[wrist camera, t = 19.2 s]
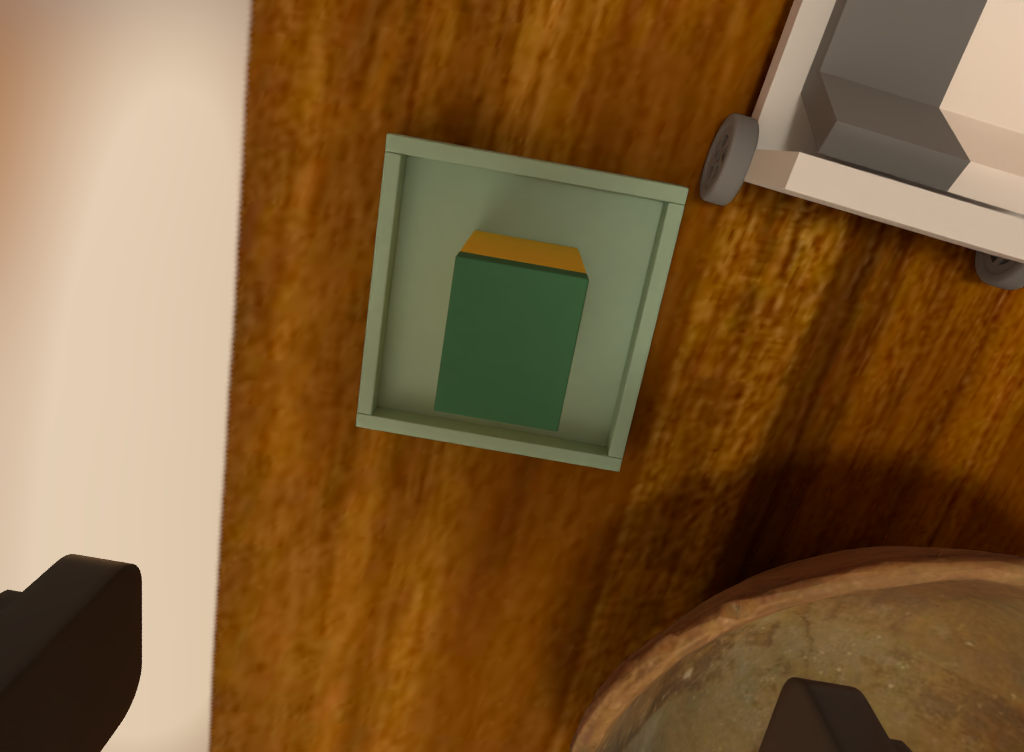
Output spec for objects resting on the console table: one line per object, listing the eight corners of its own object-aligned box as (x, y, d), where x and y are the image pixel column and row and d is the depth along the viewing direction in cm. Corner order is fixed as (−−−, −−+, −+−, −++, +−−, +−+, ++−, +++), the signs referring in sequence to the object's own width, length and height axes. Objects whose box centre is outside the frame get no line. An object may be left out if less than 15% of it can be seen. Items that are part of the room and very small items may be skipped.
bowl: (638, 356, 28) (687, 466, 19) (1162, 498, 29) (1458, 670, 20) (498, 759, 35) (483, 987, 26) (927, 862, 36) (1063, 1117, 27)
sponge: (473, 229, 26) (455, 255, 21) (578, 248, 26) (589, 278, 21) (454, 355, 28) (433, 411, 22) (554, 372, 28) (557, 432, 22)
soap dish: (394, 133, 26) (386, 133, 24) (681, 185, 26) (689, 188, 25) (363, 412, 29) (355, 427, 28) (615, 456, 30) (619, 472, 28)
